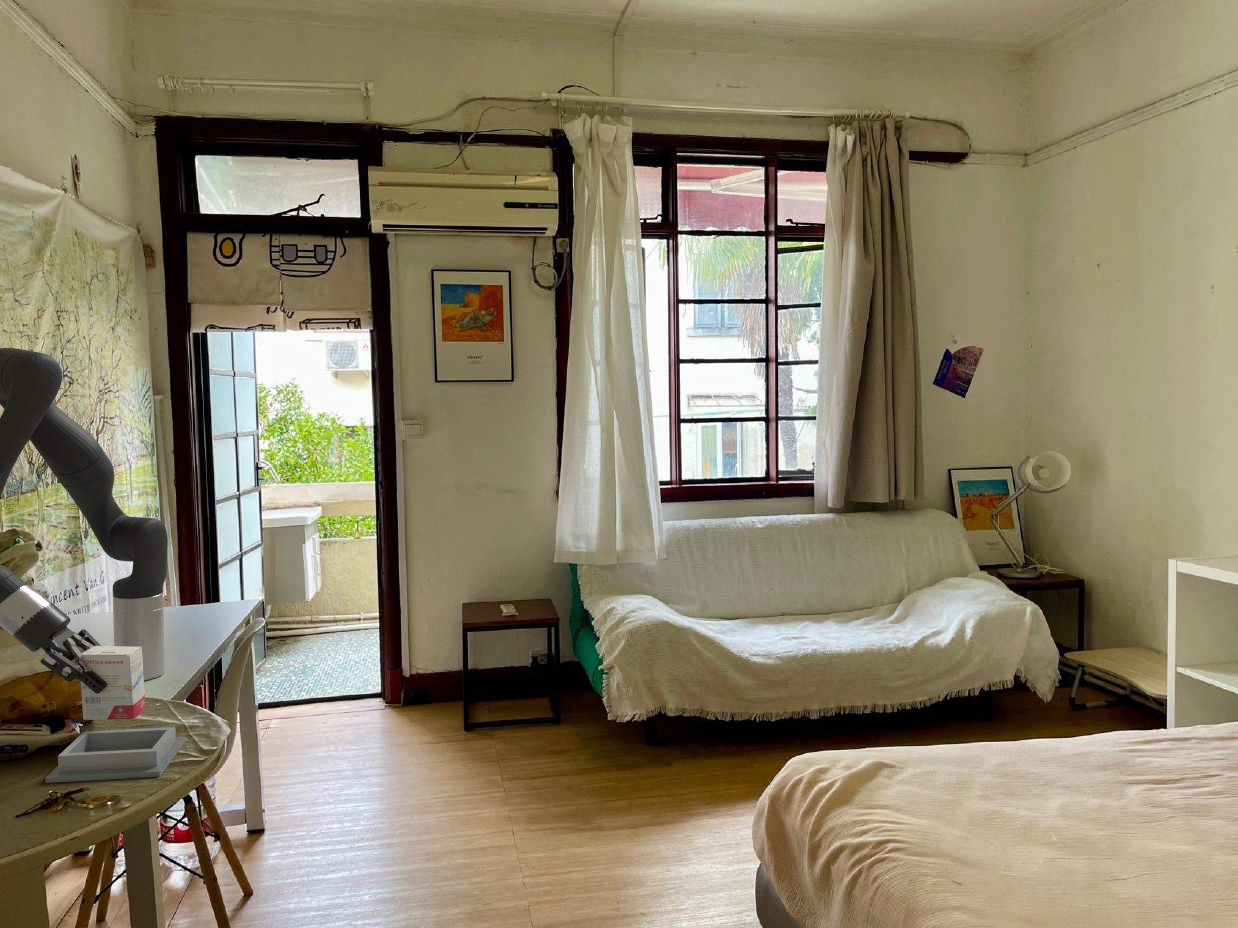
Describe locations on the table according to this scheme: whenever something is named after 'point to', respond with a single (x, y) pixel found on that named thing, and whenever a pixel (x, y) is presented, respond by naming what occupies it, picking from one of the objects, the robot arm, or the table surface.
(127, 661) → the ink box
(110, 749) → the tray
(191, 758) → the table surface
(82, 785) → the table surface
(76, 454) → the robot arm
